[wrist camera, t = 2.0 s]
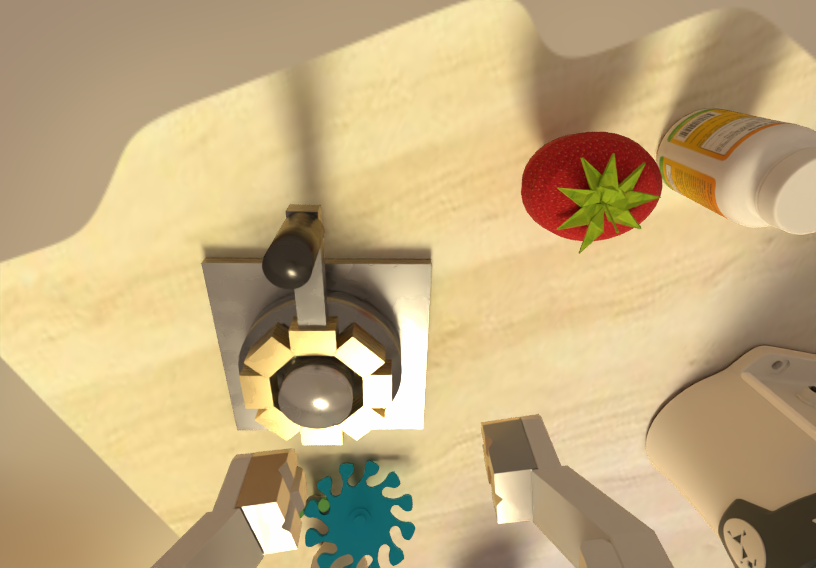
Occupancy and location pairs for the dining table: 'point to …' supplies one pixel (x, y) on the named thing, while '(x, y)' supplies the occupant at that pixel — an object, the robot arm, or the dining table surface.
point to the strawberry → (591, 186)
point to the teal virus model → (357, 518)
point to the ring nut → (312, 337)
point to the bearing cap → (352, 302)
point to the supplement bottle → (744, 168)
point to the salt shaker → (341, 561)
